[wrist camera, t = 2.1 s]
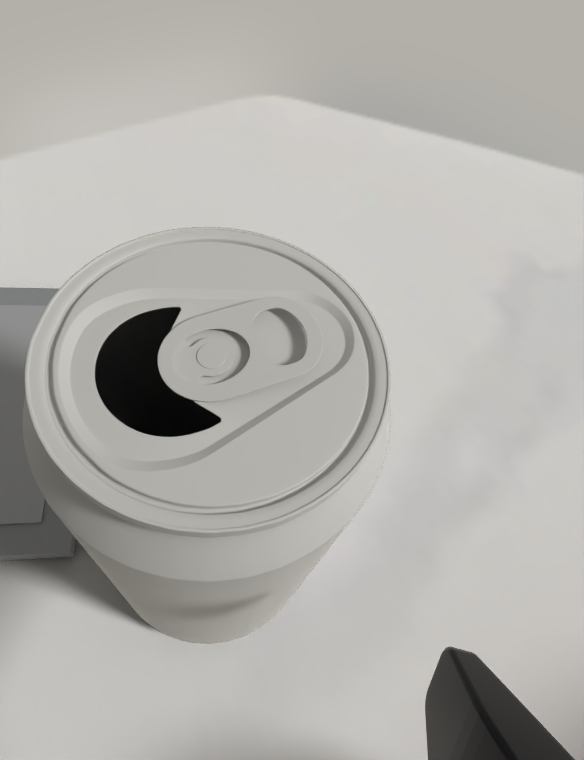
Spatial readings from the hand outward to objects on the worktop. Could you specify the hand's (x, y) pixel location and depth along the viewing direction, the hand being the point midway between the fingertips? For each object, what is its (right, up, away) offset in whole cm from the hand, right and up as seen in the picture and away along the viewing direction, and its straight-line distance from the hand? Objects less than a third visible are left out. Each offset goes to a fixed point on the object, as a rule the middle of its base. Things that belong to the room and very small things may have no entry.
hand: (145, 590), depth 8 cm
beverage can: (-1, -3, +11) cm, 11 cm away
